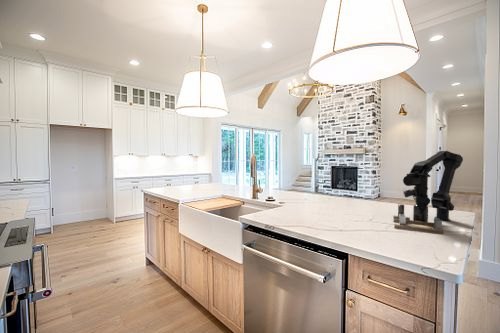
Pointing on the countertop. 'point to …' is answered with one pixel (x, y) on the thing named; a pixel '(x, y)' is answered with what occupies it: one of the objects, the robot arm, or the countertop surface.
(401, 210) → the bar
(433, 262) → the countertop surface
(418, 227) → the press base
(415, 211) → the supplement bottle
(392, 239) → the countertop surface
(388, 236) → the countertop surface
